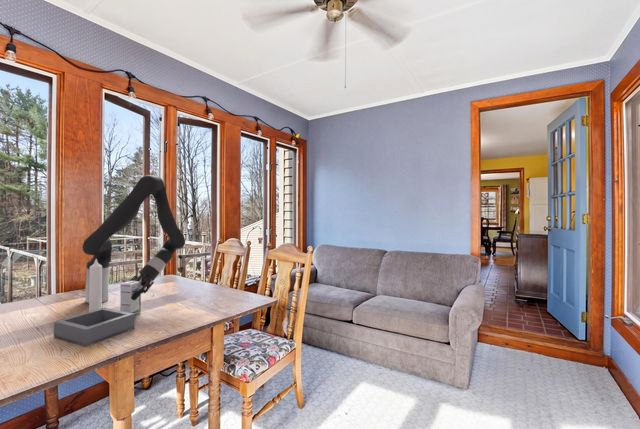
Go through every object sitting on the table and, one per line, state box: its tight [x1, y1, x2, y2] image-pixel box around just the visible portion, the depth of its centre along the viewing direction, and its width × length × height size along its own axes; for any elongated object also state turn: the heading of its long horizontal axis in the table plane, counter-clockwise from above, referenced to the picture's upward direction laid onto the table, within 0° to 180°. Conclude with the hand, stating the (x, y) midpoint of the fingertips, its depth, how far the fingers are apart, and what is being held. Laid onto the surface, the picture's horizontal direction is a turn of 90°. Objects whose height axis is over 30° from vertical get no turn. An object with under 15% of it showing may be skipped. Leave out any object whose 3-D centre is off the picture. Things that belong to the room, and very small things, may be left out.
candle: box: [88, 259, 103, 312], centre depth 136 cm, size 7×7×25 cm
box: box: [53, 307, 136, 348], centre depth 117 cm, size 18×18×6 cm
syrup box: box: [119, 280, 142, 315], centre depth 138 cm, size 6×6×14 cm
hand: (127, 297), depth 137 cm, fingers open, 8 cm apart
